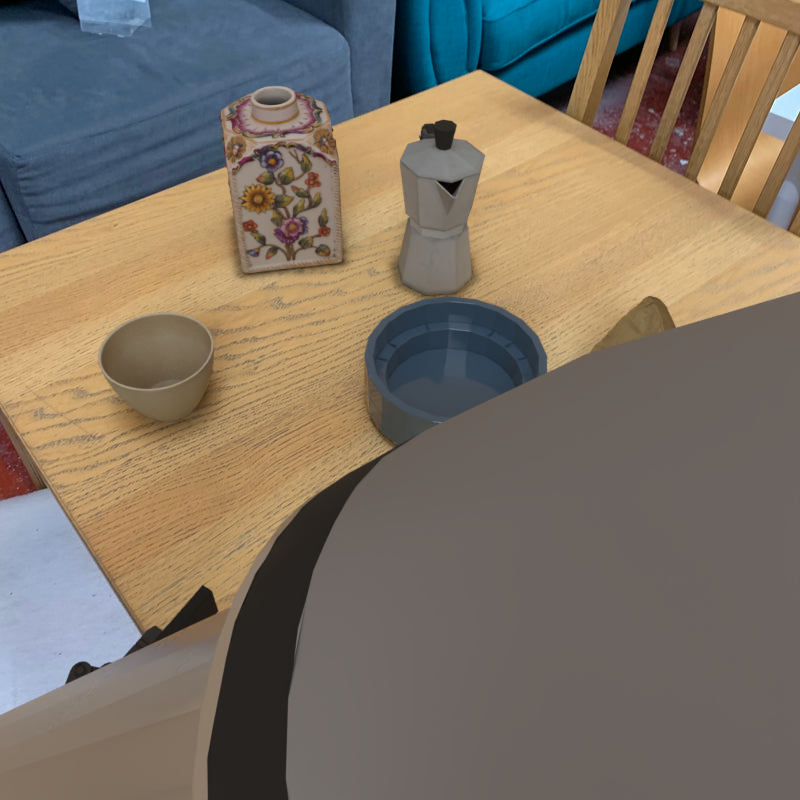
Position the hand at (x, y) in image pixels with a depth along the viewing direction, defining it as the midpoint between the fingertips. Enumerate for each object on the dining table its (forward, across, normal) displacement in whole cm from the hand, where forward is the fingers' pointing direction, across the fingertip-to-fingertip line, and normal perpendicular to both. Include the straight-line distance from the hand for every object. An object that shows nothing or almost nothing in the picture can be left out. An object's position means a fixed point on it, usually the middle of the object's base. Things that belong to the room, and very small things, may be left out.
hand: (298, 651), depth 46 cm
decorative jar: (+44, -35, -10) cm, 57 cm away
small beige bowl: (+17, -28, -10) cm, 35 cm away
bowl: (+32, -6, -10) cm, 34 cm away
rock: (+42, +9, -10) cm, 44 cm away
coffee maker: (+49, -18, -10) cm, 53 cm away
